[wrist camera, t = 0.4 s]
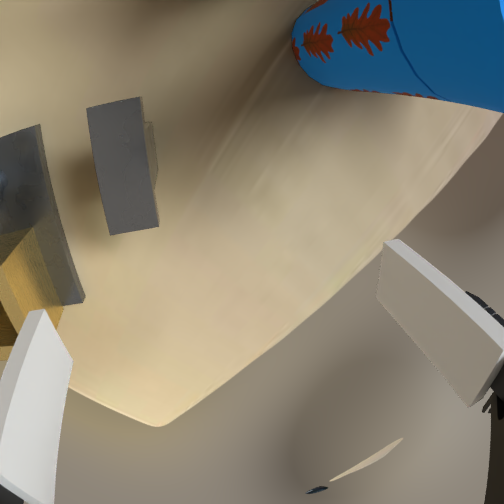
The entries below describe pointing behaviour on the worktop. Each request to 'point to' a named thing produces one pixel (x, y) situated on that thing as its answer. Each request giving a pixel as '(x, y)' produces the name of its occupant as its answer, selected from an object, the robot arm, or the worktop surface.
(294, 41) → the thermos
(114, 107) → the grey slab block
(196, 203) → the worktop surface
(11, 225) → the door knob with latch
